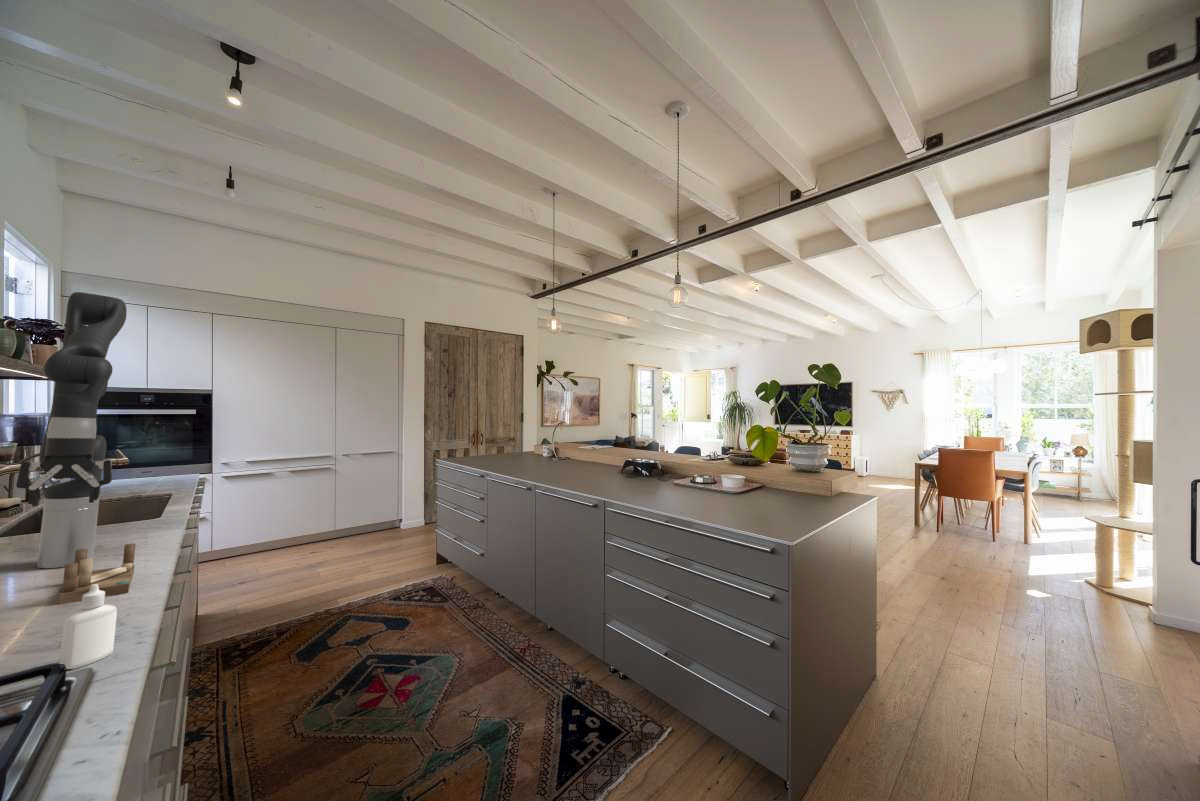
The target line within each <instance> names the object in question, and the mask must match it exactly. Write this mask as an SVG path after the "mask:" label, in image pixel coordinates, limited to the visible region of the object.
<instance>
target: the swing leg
mask: <svg viewBox="0 0 1200 801" xmlns="http://www.w3.org/2000/svg"><path fill="white" fill-rule="evenodd" d="M93 562H94V558H93V559H92V558H90V559H83V560H80V567H79V577H78V586H83V585H88V584H90V583H92V582H95V581H98V580H101V579H104V578H107V577H110V576H113V575H116V574H119V573H122V572H125V571H130V570H132V566H133V565H134V564H133V563H126V564H123V563H122V564H121V566H119V568H117V567H115V568H116V569H113V570H110V571H107V572H103V573H100V574H97V575H94V576H91V574H92V571H93Z"/></svg>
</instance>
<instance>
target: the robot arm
mask: <svg viewBox="0 0 1200 801" xmlns="http://www.w3.org/2000/svg"><path fill="white" fill-rule="evenodd" d="M65 313H66V314H65V324H64V325H65V326H64V338H63V343H62V348H60V349H59V350H57V351H56V352H54V353H53V354H52V355H51V356H49V357H48V358H47V360H46V361H45V363H44V365H43V366H44V367H43V373H44V375H45V376H46V377H47V379H48V380H50V381H53V382H54V389H53V397H52V403H51V409H50V414H49V417H48V421H47V424H46V427H45V432H44V435H43V437H42V442H41V447H40V451H39V457H38V458H39V459H38V461H30V460H27V461H23V462H21V463H20V468H19V472H18V477H17V480H16V486H15V487H16V488H18V489H25V490H28V498H27V503H28V505H31V507H39V505H40V498H41V491H42V490H41V489H40V487H41V486H43V485H44V484H45V483H47V482H49V481H50V480H52V479H55V480H63V479H70V480H68V481H63V482H59V483H56V484H52V485H49V486H48V487H46V488H45V491H44V501H43V509H42V518H41V525H40V526H41V527H40V534H39V542H38V544H39V546H38V552H37V559H36V560H37V562H36V567H37V568H38V569H56V568H65V565H67V564H71V563H74V562H75V553H76V550H80V549H88V552H87V559H90V558H92V559H93V560H94V553H95V544H96V536H97V525H98V516H99V506H100V498H101V497H100V494H101V487H102V486H104V485H108V484H111V482H113V480H112V478H113V476H112V475H113V473H112V470H113V461H112V459H106V454H107V441H106V440H107V439H106V438H105V436H103V435H99V434H97V430H98V429H97V428H98V427H97V415H98V406H99V401H100V399H101V398H102V397H103V396H104V395H105V394H106V392H107V390H108V384H109V380H110V379H111V376H112V374H113V366H112V364H111V362H110V360H108V359H106V358H107V355H108V351H109V348H110V345H111V343H112V341H113V340H114V339H115V338H116V336H117V335H118V334H119V333H120V331H121V329H122V328H123V327H124V325H125V323H126V320H127V305H126V303H125V301H124V300H122V299H121V298H117V297H113V296H108V295H101V294H95V293H88V292H83V291H75V292H72V294H70V296H69V297H68V300H67V304H66V311H65ZM105 459H106V460H105ZM38 467H40V468H41V469H42V470H43V471H44V472H45V473H44V474H43V475H41V477H39V478H38V479H37V480H36V481H34V482H33V483H32V482H29V478H30V474H31V472H33V471H35V470H36V469H37V468H38ZM102 476H103V477H102Z"/></svg>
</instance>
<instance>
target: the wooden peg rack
mask: <svg viewBox="0 0 1200 801" xmlns="http://www.w3.org/2000/svg"><path fill="white" fill-rule="evenodd" d="M123 548H124V549H123V550H124V551H123V558H122V564H126V563H133V566H132V570H130V571H125V572H122V573H119V574H116V575H113V576H110V577H107V578H104V579H101V580H98V581H95V582H92V583H90V584H88V585H83V586H78V577H79V567H80V560H83V559H87V552H88V549H80V550H76V553H75V562H74V563H71V564H67V565H65V567H64V571H63V572H64V573H63V581H62V590H61V592H60V593H59V600H58V605H62V604H69V603H75V602H82V596H83V595H84V594H86V593H88V592H89V591H90V588H91V585H93V584H98V587H99V590H101V591H105V598H106V597H111V596H117V595H124V594H129V590H130V587H131V583H132V579H133V576H134V572H135V564H134V563H135V553H136V552H135V551H136V543H127V544H125V545H124V547H123ZM119 567H120V566H119ZM119 567H110V568H109V567H108V568H104V569H96V570H92V574H91V576H94V575H97V574H100V573H103V572H107V571H110V570H113V569H116V568H119Z"/></svg>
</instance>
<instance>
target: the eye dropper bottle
mask: <svg viewBox="0 0 1200 801" xmlns="http://www.w3.org/2000/svg"><path fill="white" fill-rule="evenodd" d="M105 598H106V597H105V591H101V590H99V587H98V584H93V585H91V588H90V591H89V592H88V593H86V594H84V595H83V596H82V601H80V602H81V603H80V604H81V605H80V610H78V611H76V612H74V613H72V614H71V615H69V616H68V617H67V618H66V619H65V620H64V622H63V628H62V634H61V635H62V638H61V644H60V645H61V646H60V653H59V663H58V664H65V665H66V668H67V669H72V670H75V669H79V668H82V667H85V666H88V665H91V664H93V663H94V664H95V662H99V661H101V660H103V659H105V658H106V657H109V656H110V655H111V654H112V653H113V652H114V646H115V640H116V639H115V638H116V637H115V636H116V626H117V616H118V615H117V614H118V609H117V606H115V605H112V604H105Z"/></svg>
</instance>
